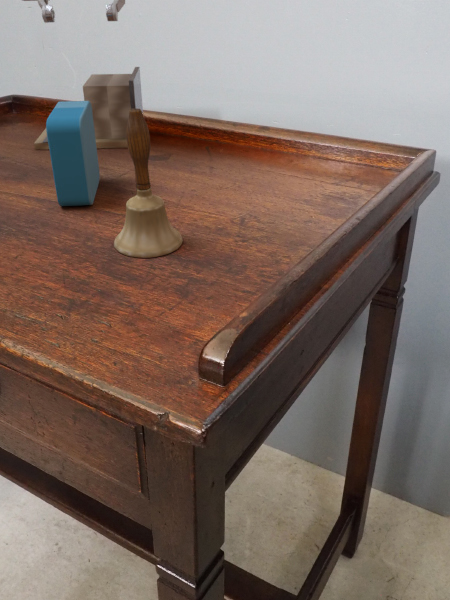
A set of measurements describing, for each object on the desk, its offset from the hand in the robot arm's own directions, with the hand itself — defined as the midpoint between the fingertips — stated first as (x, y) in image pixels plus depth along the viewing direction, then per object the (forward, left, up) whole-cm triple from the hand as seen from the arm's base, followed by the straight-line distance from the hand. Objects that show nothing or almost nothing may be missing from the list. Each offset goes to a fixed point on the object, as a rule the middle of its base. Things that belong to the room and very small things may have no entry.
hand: (80, 19), depth 92 cm
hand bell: (+11, -33, -21) cm, 41 cm away
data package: (0, -16, -21) cm, 27 cm away
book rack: (-3, +12, -21) cm, 25 cm away
